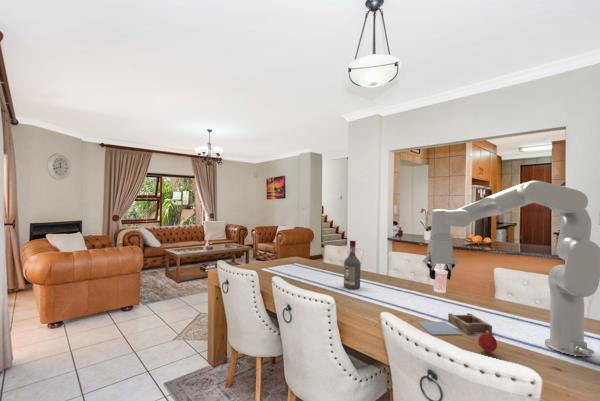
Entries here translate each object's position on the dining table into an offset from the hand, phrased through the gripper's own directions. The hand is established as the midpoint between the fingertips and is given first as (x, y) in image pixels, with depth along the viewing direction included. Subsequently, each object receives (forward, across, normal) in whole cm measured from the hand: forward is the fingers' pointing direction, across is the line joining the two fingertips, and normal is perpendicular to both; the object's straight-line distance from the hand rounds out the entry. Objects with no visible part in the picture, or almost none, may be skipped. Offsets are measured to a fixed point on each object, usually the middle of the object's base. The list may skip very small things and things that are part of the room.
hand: (440, 278), depth 126 cm
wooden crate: (+22, -14, -1) cm, 26 cm away
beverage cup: (+6, 0, 0) cm, 6 cm away
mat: (+22, 0, 0) cm, 22 cm away
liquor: (+22, +23, -63) cm, 70 cm away
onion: (+22, -6, +21) cm, 31 cm away
